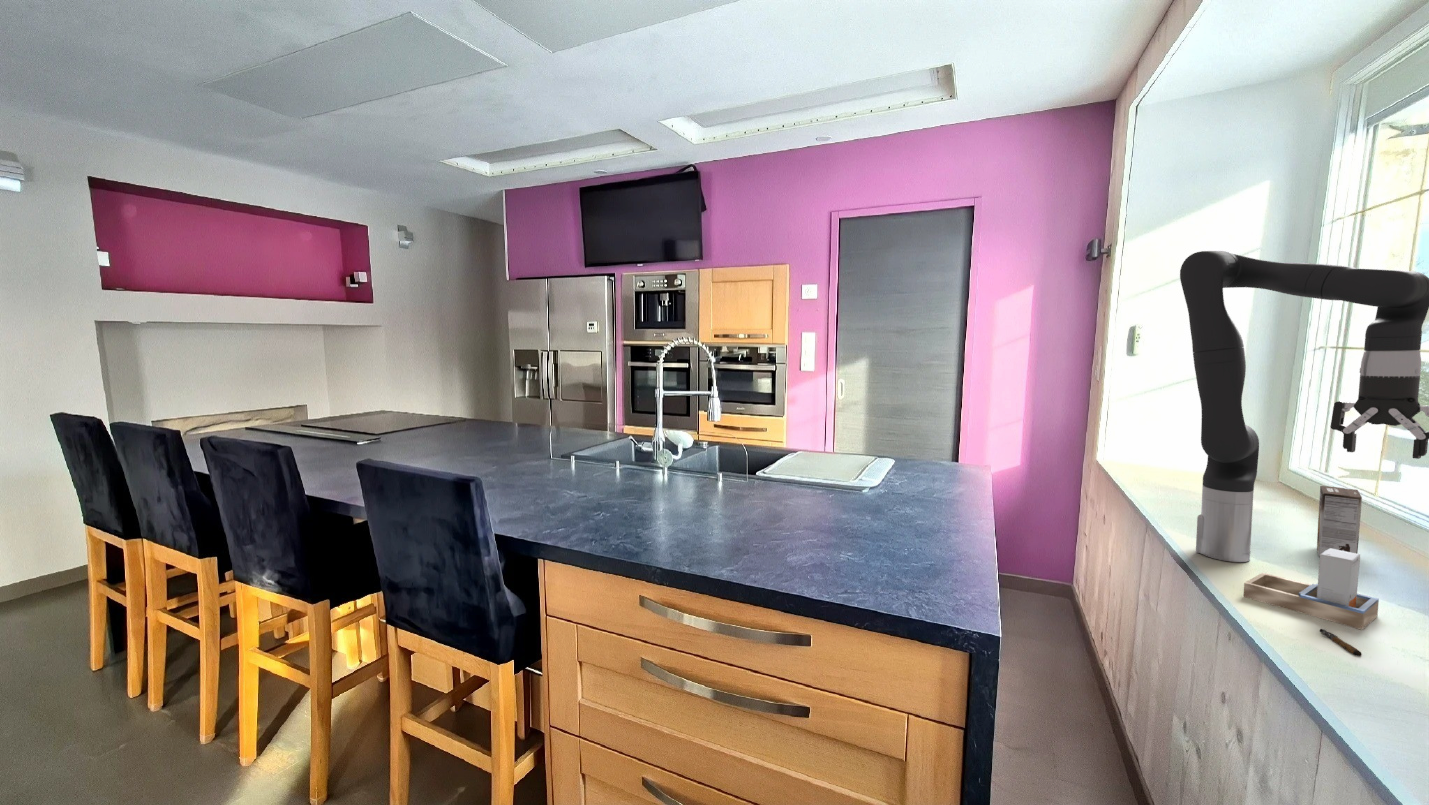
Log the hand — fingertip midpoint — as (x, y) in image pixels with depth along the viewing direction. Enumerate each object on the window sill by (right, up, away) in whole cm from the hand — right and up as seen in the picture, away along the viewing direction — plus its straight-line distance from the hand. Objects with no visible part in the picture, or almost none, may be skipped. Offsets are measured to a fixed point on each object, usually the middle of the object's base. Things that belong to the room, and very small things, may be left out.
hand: (1382, 454), depth 110 cm
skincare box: (-13, -31, -3) cm, 34 cm away
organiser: (-15, -30, 0) cm, 34 cm away
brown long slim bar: (-24, -32, -13) cm, 42 cm away
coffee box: (+19, -27, +25) cm, 42 cm away
